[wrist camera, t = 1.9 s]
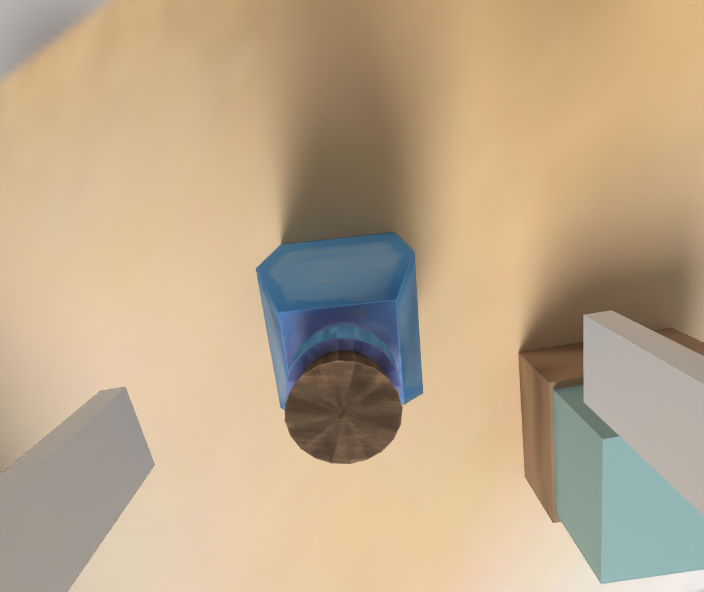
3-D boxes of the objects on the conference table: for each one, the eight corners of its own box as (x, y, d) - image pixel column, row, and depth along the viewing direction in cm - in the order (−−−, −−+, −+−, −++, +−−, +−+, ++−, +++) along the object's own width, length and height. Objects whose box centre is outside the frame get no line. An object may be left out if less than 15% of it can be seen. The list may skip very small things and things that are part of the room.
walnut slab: (522, 472, 26) (553, 522, 22) (515, 350, 24) (549, 382, 20) (658, 452, 26) (713, 499, 22) (666, 326, 23) (730, 354, 19)
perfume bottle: (394, 232, 21) (455, 291, 10) (402, 338, 23) (461, 496, 11) (280, 244, 21) (205, 318, 10) (297, 349, 23) (249, 517, 11)
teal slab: (556, 513, 22) (600, 583, 18) (552, 389, 20) (602, 439, 16) (700, 492, 22) (775, 559, 18) (712, 363, 20) (802, 408, 16)
